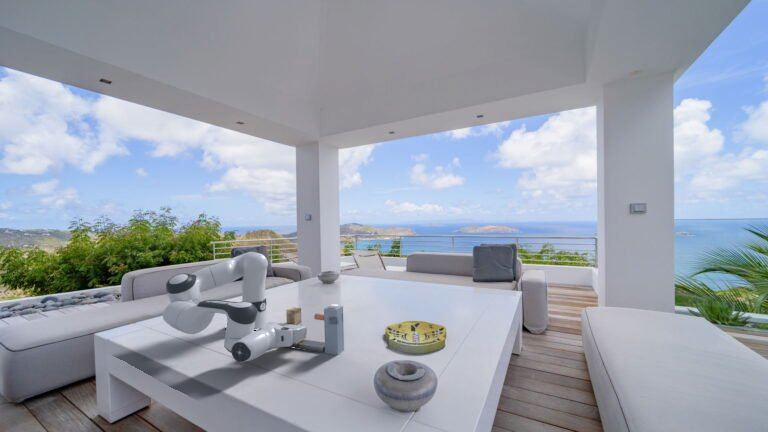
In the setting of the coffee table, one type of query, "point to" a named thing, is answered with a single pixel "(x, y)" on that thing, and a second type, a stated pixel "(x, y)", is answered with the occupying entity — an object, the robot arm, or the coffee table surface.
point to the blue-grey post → (334, 329)
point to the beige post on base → (294, 318)
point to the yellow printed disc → (416, 336)
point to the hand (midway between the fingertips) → (295, 324)
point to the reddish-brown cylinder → (319, 316)
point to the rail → (310, 345)
